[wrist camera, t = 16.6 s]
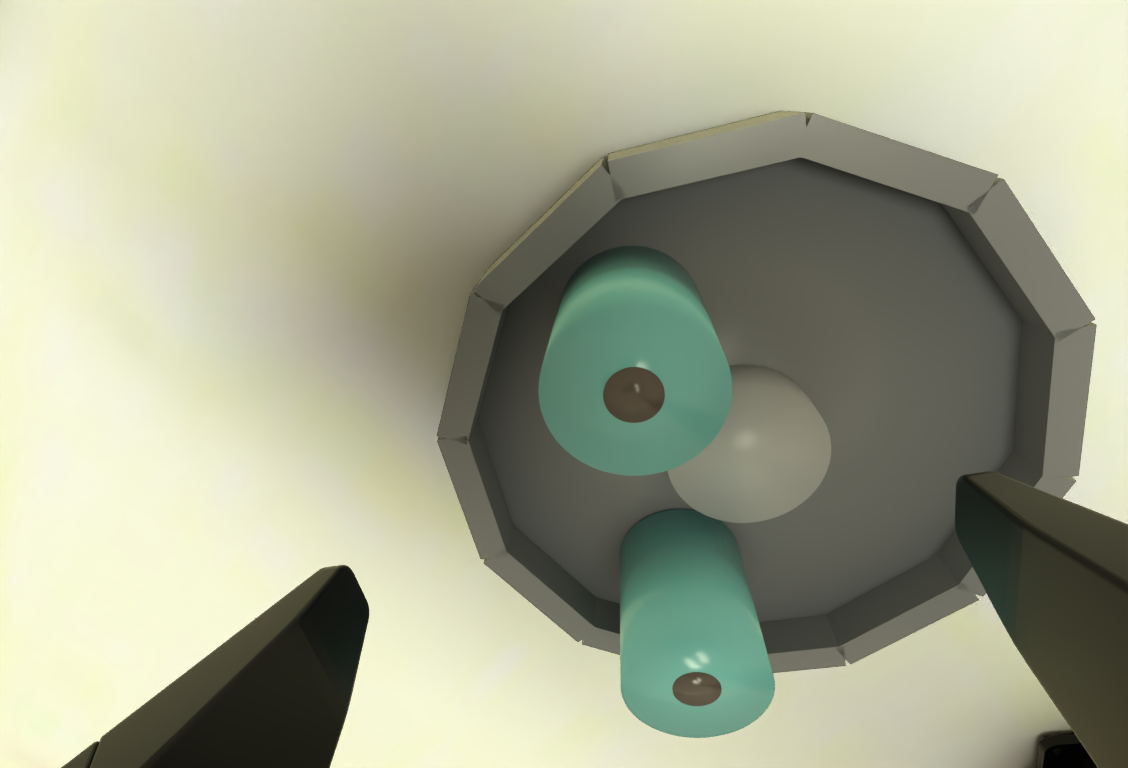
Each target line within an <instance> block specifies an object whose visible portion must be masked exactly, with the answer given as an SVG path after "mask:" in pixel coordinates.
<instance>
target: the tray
mask: <svg viewBox="0 0 1128 768" xmlns="http://www.w3.org/2000/svg"><path fill="white" fill-rule="evenodd" d="M997 176H998V175H997V174H994V173H991V172H988V171H985V170H982V169H979V168H976V167H973V166H970V165H967V164H964V163H961V162H958V161H955V160H952V159H949V158H946V157H943V156H940V155H937V154H934V153H931V152H928V151H925V150H922V149H919V148H916V147H913V146H910V145H907V144H904V143H901V142H898V141H895V140H892V139H889V138H886V137H883V136H880V135H877V134H874V133H871V132H868V131H865V130H862V129H859V128H856V127H853V126H850V125H847V124H844V123H841V122H838V121H835V120H832V119H829V118H826V117H823V116H820V115H817V114H814V113H806V112H792V111H778V112H774V113H770V114H766V115H762V116H758V117H754V118H750V119H746V120H742V121H738V122H734V123H730V124H726V125H722V126H718V127H714V128H710V129H705V130H701V131H697V132H693V133H689V134H685V135H681V136H677V137H673V138H669V139H665V140H661V141H657V142H653V143H649V144H645V145H641V146H637V147H633V148H629V149H625V150H621V151H617V152H612V153H609V155H608V162H607V161H606V159H605V158H604V157H602V158H601V159H600V160H599V161H598V162H597V163H596V164H595V165H594V166H593V167H592V168H591V169H590V170H589V171H588V172H587V173H586V174H585V175H584V176H583V177H582V178H581V179H580V180H579V181H578V182H577V183H576V184H574V185H573V186H572V187H571V188H570V189H569V190H568V191H567V192H566V193H565V194H564V195H563V196H562V197H561V198H560V199H559V200H558V201H557V202H556V203H555V204H554V205H553V206H552V207H551V208H550V209H549V210H548V211H547V212H546V213H545V214H544V215H543V216H542V217H541V218H540V219H539V220H538V221H537V222H536V223H535V224H534V225H532V226H531V227H530V228H529V229H528V230H527V231H526V232H525V233H524V234H523V235H522V236H521V237H520V238H519V239H518V240H517V241H516V242H515V243H514V244H513V245H512V246H511V247H510V248H509V249H508V250H507V251H506V252H505V253H504V254H503V255H502V256H501V257H500V258H499V259H498V260H497V261H496V262H495V263H494V264H493V265H492V266H490V267H489V269H488V270H487V271H486V273H485V274H484V275H483V277H482V278H481V279H480V281H479V282H478V283H477V285H476V286H475V287H474V289H473V291H472V293H471V294H470V297H469V301H468V306H467V310H466V314H465V318H464V323H463V327H462V331H461V335H460V340H459V344H458V348H457V352H456V356H455V361H454V365H453V369H452V373H451V378H450V382H449V386H448V390H447V395H446V399H445V403H444V407H443V411H442V416H441V420H440V424H439V428H438V433H437V436H439V438H438V440H437V442H438V445H439V447H440V450H441V453H442V456H443V458H444V461H445V464H446V466H447V469H448V472H449V475H450V477H451V480H452V483H453V485H454V488H455V491H456V493H457V496H458V499H459V502H460V504H461V507H462V510H463V512H464V515H465V518H466V521H467V523H468V526H469V529H470V531H471V534H472V537H473V540H474V542H475V545H476V548H477V550H478V553H479V556H480V559H485V560H484V564H485V565H486V566H488V567H489V568H490V569H491V570H492V571H494V572H495V573H496V574H497V575H498V576H500V577H501V578H502V579H503V580H504V581H506V582H507V583H508V584H509V585H510V586H511V587H513V588H514V589H515V590H516V591H517V592H519V593H520V594H521V595H522V596H523V597H525V598H526V599H527V600H528V601H529V602H531V603H532V604H533V605H534V606H535V607H536V608H538V609H539V610H540V611H541V612H542V613H544V614H545V615H546V616H547V617H548V618H550V619H551V620H552V621H553V622H554V623H556V624H557V625H558V626H559V627H560V628H562V629H563V630H564V631H565V632H566V633H567V634H569V635H570V636H571V637H572V638H573V639H575V640H576V641H577V642H579V641H581V640H582V644H583V645H586V646H590V647H593V648H597V649H601V650H604V651H608V652H611V653H615V654H618V655H620V570H619V552H620V547H621V544H622V541H623V539H624V538H625V536H626V534H627V533H628V532H629V530H630V529H631V528H632V527H633V526H634V525H636V524H637V523H638V522H640V521H641V520H643V519H644V518H646V517H648V516H651V515H653V514H656V513H659V512H662V511H668V510H677V509H682V510H693V511H698V512H700V513H702V514H704V515H706V516H708V517H711V518H714V519H717V520H719V521H721V522H722V523H723V524H725V525H726V526H727V527H728V528H729V529H730V531H731V532H732V533H733V535H734V536H735V538H736V540H737V543H738V546H739V550H740V553H741V557H742V561H743V565H744V568H745V572H746V576H747V579H748V583H749V587H750V591H751V594H752V598H753V602H754V606H755V609H756V613H757V617H758V620H759V624H760V628H761V632H762V635H763V639H764V643H765V646H766V650H767V654H768V658H769V661H770V665H771V669H772V673H778V672H788V671H798V670H808V669H818V668H828V667H838V666H846V664H845V659H846V660H847V661H848V662H849V663H850V664H852V663H854V662H856V661H858V660H860V659H862V658H864V657H866V656H868V655H870V654H872V653H874V652H876V651H878V650H880V649H882V648H884V647H886V646H888V645H890V644H892V643H894V642H896V641H898V640H900V639H902V638H904V637H906V636H908V635H910V634H912V633H914V632H916V631H918V630H920V629H922V628H924V627H926V626H928V625H930V624H932V623H934V622H936V621H938V620H940V619H942V618H944V617H946V616H948V615H950V614H952V613H954V612H956V611H958V610H960V609H962V608H964V607H966V606H968V605H970V604H972V603H974V602H976V601H978V600H979V599H978V598H977V596H976V595H975V594H977V595H980V596H984V595H985V594H986V591H985V589H984V587H983V585H982V584H981V582H980V580H979V578H978V576H977V574H976V572H975V570H974V569H973V567H972V565H971V563H970V561H969V559H968V557H967V555H966V553H965V552H964V550H963V548H962V546H961V544H960V542H959V540H958V537H957V534H956V530H955V492H956V482H957V479H958V478H959V477H960V476H962V475H966V474H972V473H979V472H986V471H993V472H996V473H999V474H1002V475H1004V476H1007V477H1009V478H1012V479H1014V480H1017V481H1019V482H1022V483H1024V484H1027V485H1029V486H1032V487H1035V488H1037V489H1040V490H1042V491H1045V492H1047V493H1050V494H1052V495H1055V496H1057V497H1060V498H1063V497H1064V496H1065V494H1066V493H1067V492H1068V491H1069V489H1070V488H1071V487H1072V486H1073V484H1074V483H1075V482H1076V480H1075V479H1073V478H1072V477H1073V476H1079V469H1080V460H1081V452H1082V443H1083V435H1084V426H1085V418H1086V410H1087V401H1088V393H1089V384H1090V376H1091V367H1092V359H1093V350H1094V342H1095V334H1096V324H1094V323H1092V322H1091V321H1093V320H1094V319H1095V318H1094V316H1093V315H1092V313H1091V312H1090V310H1089V309H1088V307H1087V305H1086V304H1085V302H1084V301H1083V299H1082V298H1081V296H1080V295H1079V293H1078V292H1077V290H1076V289H1075V287H1074V286H1073V284H1072V283H1071V281H1070V280H1069V278H1068V276H1067V275H1066V273H1065V272H1064V270H1063V269H1062V267H1061V266H1060V264H1059V263H1058V261H1057V260H1056V258H1055V257H1054V255H1053V254H1052V252H1051V250H1050V249H1049V247H1048V246H1047V244H1046V243H1045V241H1044V240H1043V238H1042V237H1041V235H1040V234H1039V232H1038V231H1037V229H1036V228H1035V226H1034V224H1033V223H1032V221H1031V220H1030V218H1029V217H1028V215H1027V214H1026V212H1025V211H1024V209H1023V208H1022V206H1021V205H1020V203H1019V202H1018V200H1017V198H1016V197H1015V195H1014V194H1013V192H1012V191H1011V189H1010V188H1009V186H1008V185H1007V183H1006V182H1005V180H1004V179H1001V178H997ZM620 246H643V247H648V248H652V249H656V250H658V251H661V252H663V253H665V254H667V255H669V256H670V257H672V258H673V259H675V260H676V261H677V262H679V263H680V264H681V265H682V266H683V267H684V268H685V269H686V270H687V272H688V273H689V274H690V276H691V277H692V279H693V281H694V282H695V284H696V286H697V289H698V291H699V294H700V296H701V298H702V301H703V303H704V306H705V308H706V311H707V313H708V315H709V318H710V320H711V323H712V325H713V328H714V330H715V332H716V335H717V337H718V340H719V342H720V345H721V347H722V349H723V352H724V354H725V357H726V360H727V362H728V365H729V368H730V373H731V378H732V398H731V404H730V408H729V412H728V415H727V417H726V420H725V422H724V424H723V426H722V428H721V429H720V431H719V433H718V434H717V436H716V437H715V438H714V439H713V441H712V442H711V443H710V444H709V445H708V446H707V447H706V448H705V449H704V450H703V451H702V452H701V453H699V454H698V455H697V456H695V457H694V458H693V459H691V460H689V461H688V462H686V463H684V464H682V465H680V466H678V467H676V468H674V469H671V470H667V471H664V472H661V473H656V474H651V475H642V476H626V475H618V474H612V473H608V472H604V471H601V470H598V469H595V468H593V467H591V466H589V465H587V464H585V463H583V462H581V461H580V460H578V459H576V458H575V457H573V456H572V455H571V454H570V453H569V452H567V451H566V450H565V449H564V448H563V447H562V446H561V445H560V444H559V443H558V442H557V441H556V439H555V438H554V436H553V435H552V433H551V432H550V430H549V428H548V427H547V425H546V423H545V420H544V418H543V415H542V412H541V408H540V403H539V393H538V386H539V377H540V372H541V368H542V364H543V361H544V357H545V354H546V350H547V347H548V343H549V339H550V336H551V332H552V329H553V325H554V321H555V318H556V314H557V311H558V307H559V304H560V300H561V296H562V293H563V291H564V288H565V286H566V284H567V282H568V281H569V279H570V277H571V276H572V275H573V273H574V272H575V271H576V270H577V269H578V268H579V267H580V266H581V265H582V264H583V263H584V262H586V261H587V260H588V259H589V258H591V257H593V256H594V255H596V254H598V253H600V252H603V251H605V250H608V249H611V248H615V247H620Z"/></svg>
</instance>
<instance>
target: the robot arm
mask: <svg viewBox="0 0 1128 768" xmlns="http://www.w3.org/2000/svg"><path fill="white" fill-rule="evenodd" d="M955 530H956V534H957V537H958V540H959V542H960V544H961V546H962V548H963V550H964V552H965V553H966V555H967V557H968V559H969V561H970V563H971V565H972V567H973V569H974V570H975V572H976V574H977V576H978V578H979V580H980V582H981V584H982V585H983V587H984V589H985V591H986V593H987V595H988V597H989V599H990V600H991V602H992V604H993V606H994V608H995V610H996V612H997V614H998V615H999V617H1000V619H1001V621H1002V623H1003V625H1004V627H1005V628H1006V630H1007V632H1008V634H1009V636H1010V637H1011V639H1012V641H1013V643H1014V644H1015V646H1016V647H1017V649H1018V650H1019V652H1020V654H1021V655H1022V657H1023V658H1024V660H1025V661H1026V663H1027V664H1028V666H1029V667H1030V669H1031V670H1032V672H1033V673H1034V675H1035V676H1036V677H1037V679H1038V680H1039V682H1040V683H1041V685H1042V686H1043V688H1044V689H1045V691H1046V692H1047V694H1048V695H1049V697H1050V698H1051V700H1052V701H1053V702H1054V704H1055V705H1056V707H1057V708H1058V710H1059V711H1060V713H1061V714H1062V716H1063V717H1064V719H1065V720H1066V722H1067V723H1068V724H1069V726H1070V727H1071V729H1072V730H1073V732H1074V733H1075V734H1071V735H1058V736H1049V737H1046V738H1044V739H1042V740H1041V741H1040V742H1039V745H1038V754H1037V763H1036V768H1128V524H1126V523H1123V522H1120V521H1118V520H1115V519H1113V518H1110V517H1108V516H1105V515H1103V514H1100V513H1098V512H1095V511H1093V510H1090V509H1088V508H1085V507H1083V506H1080V505H1078V504H1075V503H1072V502H1070V501H1067V500H1065V499H1062V498H1060V497H1057V496H1055V495H1052V494H1050V493H1047V492H1045V491H1042V490H1040V489H1037V488H1035V487H1032V486H1029V485H1027V484H1024V483H1022V482H1019V481H1017V480H1014V479H1012V478H1009V477H1007V476H1004V475H1002V474H999V473H996V472H993V471H986V472H979V473H972V474H966V475H962V476H960V477H959V478H958V479H957V482H956V492H955ZM368 619H369V607H368V603H367V600H366V598H365V596H364V594H363V592H362V590H361V588H360V586H359V584H358V581H357V579H356V577H355V575H354V573H353V571H352V570H351V569H350V568H349V567H348V566H346V565H339V566H332V567H325V568H322V569H320V570H319V571H317V572H316V573H315V574H313V575H312V576H311V577H309V578H308V579H307V580H305V581H304V582H303V583H302V584H300V585H299V586H298V587H296V588H295V589H294V590H292V591H291V592H290V593H288V594H287V595H286V596H285V597H283V598H282V599H281V600H279V601H278V602H277V603H275V604H274V605H273V606H272V607H270V608H269V609H268V610H266V611H265V612H264V613H262V614H261V615H260V616H259V617H257V618H256V619H255V620H253V621H252V622H251V623H249V624H248V625H247V626H246V627H244V628H243V629H242V630H240V631H239V632H238V633H236V634H235V635H234V636H232V637H231V638H230V639H229V640H227V641H226V642H225V643H223V644H222V645H221V646H219V647H218V648H217V649H216V650H214V651H213V652H212V653H210V654H209V655H208V656H206V657H205V658H204V659H203V660H201V661H200V662H199V663H197V664H196V665H195V666H193V667H192V668H191V669H190V670H188V671H187V672H186V673H184V674H183V675H182V676H180V677H179V678H178V679H176V680H175V681H174V682H173V683H171V684H170V685H169V686H167V687H166V688H165V689H163V690H162V691H161V692H160V693H158V694H157V695H156V696H154V697H153V698H152V699H150V700H149V701H148V702H147V703H145V704H144V705H143V706H141V707H140V708H139V709H137V710H136V711H135V712H133V713H132V714H131V715H130V716H128V717H127V718H126V719H124V720H123V721H122V722H120V723H119V724H118V725H117V726H115V727H114V728H113V729H111V730H110V731H109V732H107V733H106V734H105V735H104V736H102V737H101V739H100V742H94V743H93V744H92V745H90V746H89V747H88V748H86V749H85V750H84V751H82V752H81V753H80V754H79V755H77V756H76V757H75V758H73V759H72V760H71V761H69V762H68V763H67V764H66V765H64V766H63V767H62V768H330V765H331V762H332V759H333V756H334V753H335V750H336V747H337V743H338V740H339V737H340V734H341V731H342V728H343V725H344V722H345V718H346V715H347V711H348V708H349V704H350V700H351V696H352V691H353V687H354V682H355V678H356V673H357V669H358V664H359V660H360V656H361V651H362V647H363V642H364V638H365V633H366V629H367V624H368Z"/></svg>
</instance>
